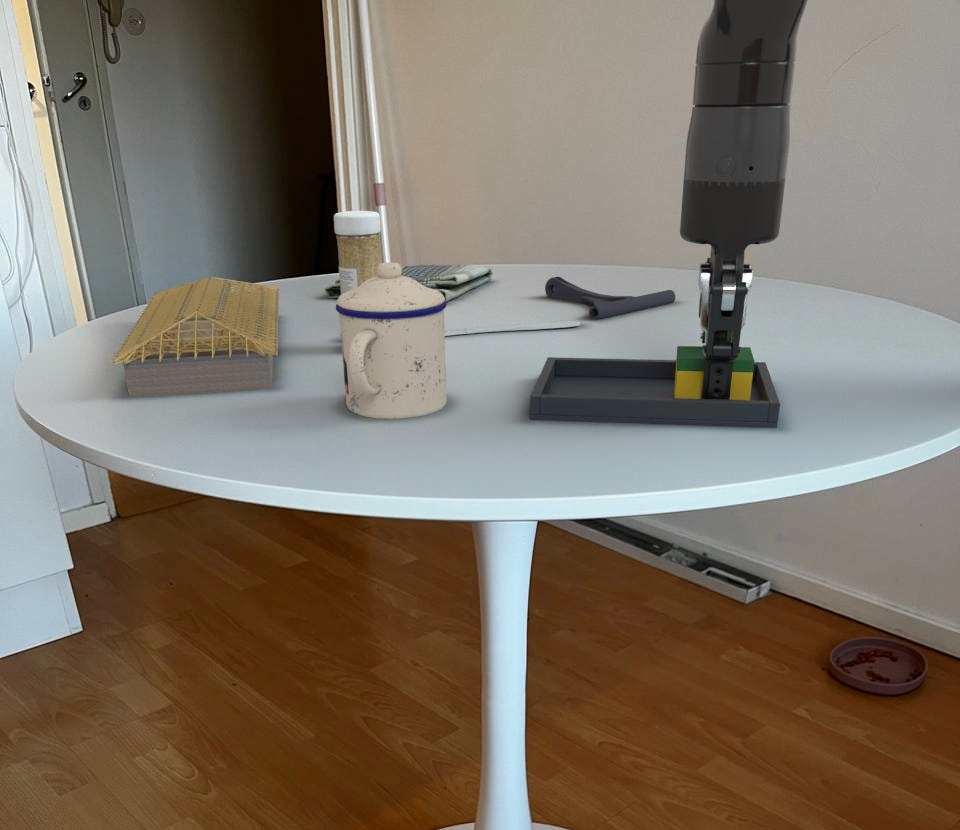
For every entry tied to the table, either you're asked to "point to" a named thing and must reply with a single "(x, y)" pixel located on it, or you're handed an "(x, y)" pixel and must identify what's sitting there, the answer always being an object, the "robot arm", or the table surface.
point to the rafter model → (203, 339)
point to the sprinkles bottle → (357, 247)
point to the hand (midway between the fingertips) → (713, 396)
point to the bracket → (605, 299)
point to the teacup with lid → (393, 346)
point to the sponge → (693, 370)
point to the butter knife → (516, 327)
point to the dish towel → (438, 278)
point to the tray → (642, 395)
